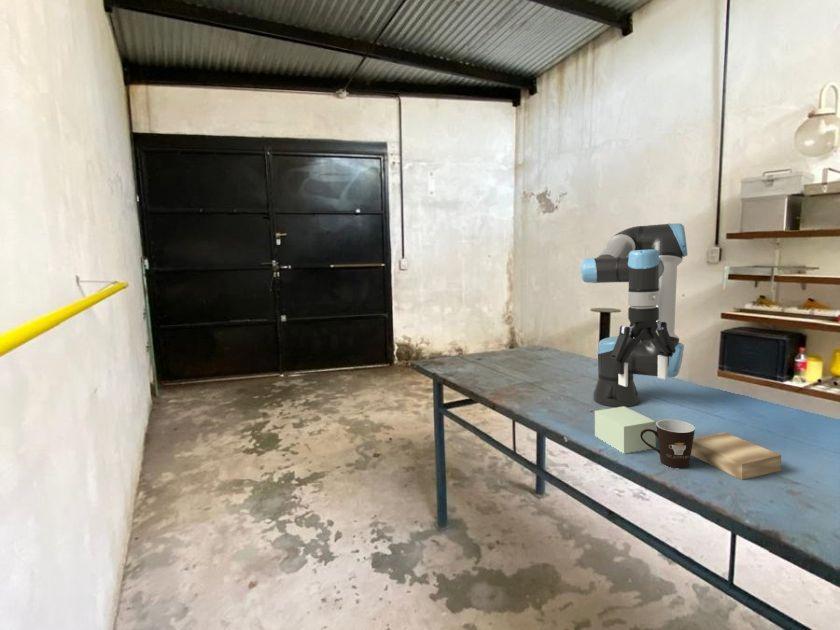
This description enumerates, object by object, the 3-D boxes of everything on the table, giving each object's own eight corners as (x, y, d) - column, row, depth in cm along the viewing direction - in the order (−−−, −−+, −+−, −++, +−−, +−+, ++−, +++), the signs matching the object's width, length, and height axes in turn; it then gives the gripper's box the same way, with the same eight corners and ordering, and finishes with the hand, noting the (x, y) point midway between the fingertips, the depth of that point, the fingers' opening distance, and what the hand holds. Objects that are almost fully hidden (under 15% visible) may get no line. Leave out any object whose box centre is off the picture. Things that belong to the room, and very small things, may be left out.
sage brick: (594, 436, 134) (594, 410, 133) (624, 431, 136) (624, 406, 135) (623, 454, 122) (623, 426, 121) (655, 448, 124) (655, 421, 123)
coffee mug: (697, 460, 115) (698, 423, 114) (690, 474, 109) (690, 435, 108) (648, 449, 123) (648, 415, 122) (639, 461, 117) (639, 425, 116)
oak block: (688, 453, 120) (688, 439, 119) (724, 446, 123) (724, 432, 122) (741, 479, 105) (742, 463, 105) (780, 470, 108) (781, 455, 108)
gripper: (615, 312, 115) (615, 392, 118) (690, 303, 122) (689, 378, 125) (595, 309, 122) (596, 384, 125) (668, 301, 130) (667, 372, 132)
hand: (643, 381), depth 125 cm, fingers open, 13 cm apart
